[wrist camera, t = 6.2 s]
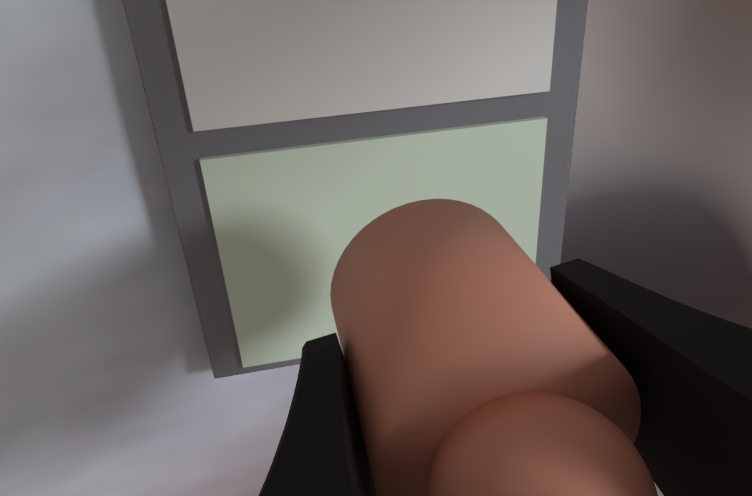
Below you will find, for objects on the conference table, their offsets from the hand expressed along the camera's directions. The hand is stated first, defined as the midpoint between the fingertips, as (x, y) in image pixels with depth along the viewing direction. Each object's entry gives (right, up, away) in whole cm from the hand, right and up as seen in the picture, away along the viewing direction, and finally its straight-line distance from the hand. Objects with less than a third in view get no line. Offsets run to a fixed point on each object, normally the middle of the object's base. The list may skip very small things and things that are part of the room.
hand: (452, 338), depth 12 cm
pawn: (0, +1, +2) cm, 2 cm away
